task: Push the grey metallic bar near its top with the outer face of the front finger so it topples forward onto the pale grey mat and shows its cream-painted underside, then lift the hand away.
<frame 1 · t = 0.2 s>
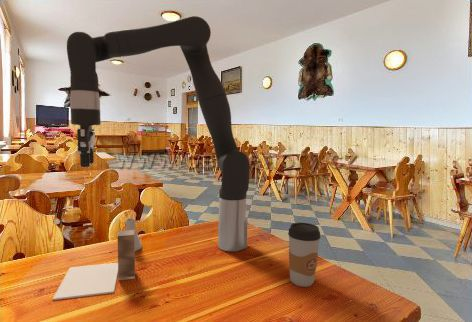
hand: (87, 165, 86), 29 cm above the table, tool pointing down, fingers open, 8 cm apart
flask: (130, 249, 98), on the table
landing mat: (90, 279, 78), on the table
coffee cup: (301, 281, 80), on the table
grey metallic bar: (126, 275, 80), on the table
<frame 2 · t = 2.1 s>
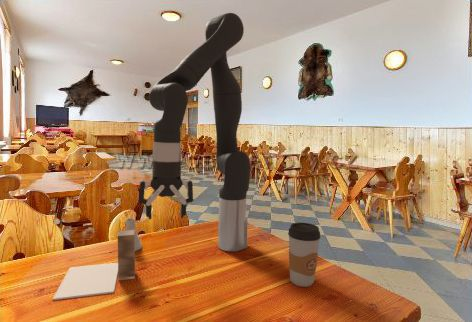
hand: (166, 217, 82), 15 cm above the table, tool pointing down, fingers open, 8 cm apart
nothing on the table moved.
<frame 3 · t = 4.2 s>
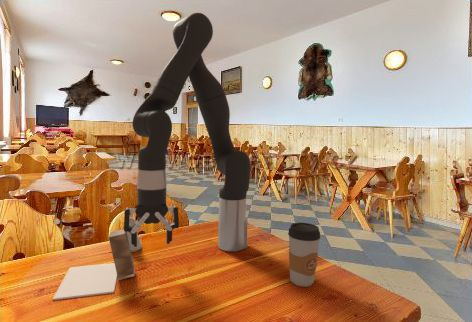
hand: (151, 244, 81), 8 cm above the table, tool pointing down, fingers open, 8 cm apart
grey metallic bar: (126, 274, 80), on the table, tilted 10°, touching gripper
everything else where it was.
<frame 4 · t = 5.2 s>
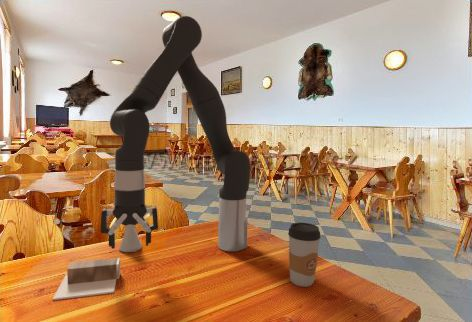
hand: (130, 246, 79), 8 cm above the table, tool pointing down, fingers open, 8 cm apart
grey metallic bar: (119, 268, 79), point 2 cm above the table, tilted 90°, touching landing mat
everything else where it was.
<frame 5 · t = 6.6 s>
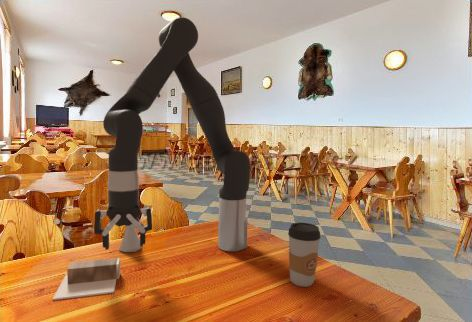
hand: (124, 247, 79), 8 cm above the table, tool pointing down, fingers open, 8 cm apart
nothing on the table moved.
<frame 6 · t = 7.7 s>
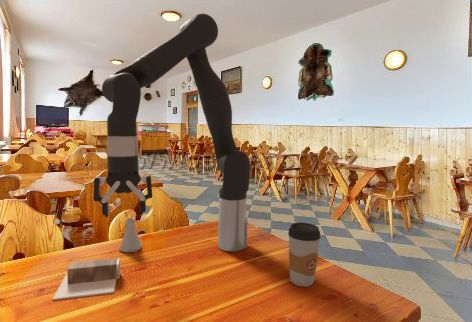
hand: (124, 215, 78), 17 cm above the table, tool pointing down, fingers open, 8 cm apart
nothing on the table moved.
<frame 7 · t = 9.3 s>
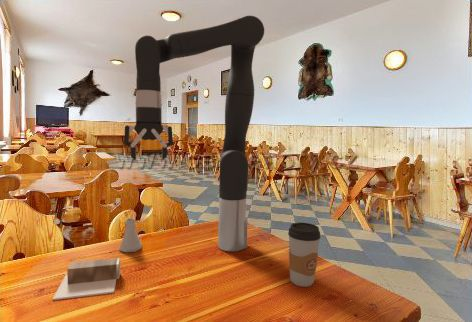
hand: (149, 159, 92), 30 cm above the table, tool pointing down, fingers open, 8 cm apart
nothing on the table moved.
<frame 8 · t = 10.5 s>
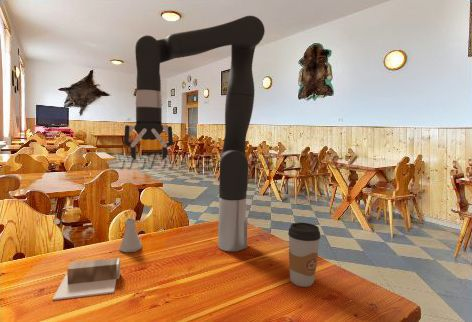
hand: (149, 159, 92), 30 cm above the table, tool pointing down, fingers open, 8 cm apart
nothing on the table moved.
at the end: grey metallic bar tilted 90°; grey metallic bar inside the target area (2.7 cm from its centre), point 2.4 cm above the table; grey metallic bar touching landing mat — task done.
